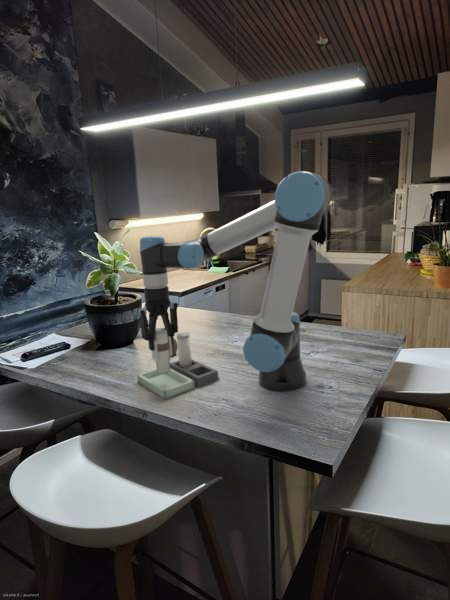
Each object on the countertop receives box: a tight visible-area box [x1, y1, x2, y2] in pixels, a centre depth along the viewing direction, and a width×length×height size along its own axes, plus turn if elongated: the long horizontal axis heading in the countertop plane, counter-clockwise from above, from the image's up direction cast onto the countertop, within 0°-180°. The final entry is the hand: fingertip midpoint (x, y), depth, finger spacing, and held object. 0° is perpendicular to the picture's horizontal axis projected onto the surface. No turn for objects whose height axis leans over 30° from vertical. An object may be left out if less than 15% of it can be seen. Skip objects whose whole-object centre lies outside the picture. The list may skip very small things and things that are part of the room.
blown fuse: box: [155, 327, 171, 373], centre depth 131 cm, size 4×4×14 cm
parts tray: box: [137, 368, 196, 400], centre depth 134 cm, size 18×11×3 cm, turn 38°
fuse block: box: [170, 358, 221, 387], centre depth 140 cm, size 18×9×3 cm, turn 38°
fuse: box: [176, 332, 193, 368], centre depth 142 cm, size 4×4×14 cm
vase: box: [172, 336, 178, 356], centre depth 161 cm, size 7×7×9 cm
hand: (162, 356), depth 132 cm, fingers closed on blown fuse, 4 cm apart
